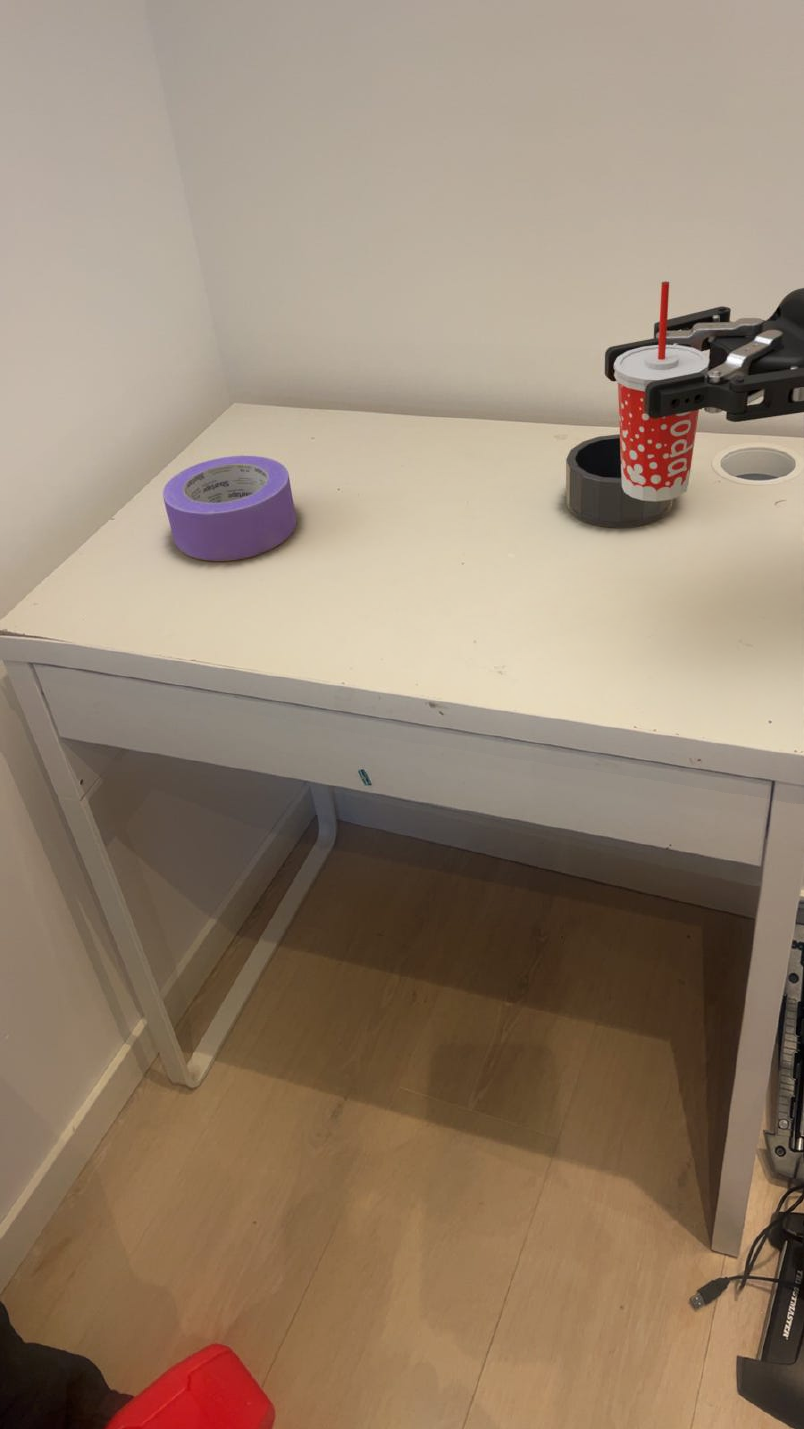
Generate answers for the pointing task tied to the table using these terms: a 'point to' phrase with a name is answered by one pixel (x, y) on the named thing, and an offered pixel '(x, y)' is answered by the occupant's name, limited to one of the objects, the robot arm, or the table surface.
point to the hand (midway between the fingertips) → (627, 382)
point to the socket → (605, 487)
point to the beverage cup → (663, 444)
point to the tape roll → (230, 507)
